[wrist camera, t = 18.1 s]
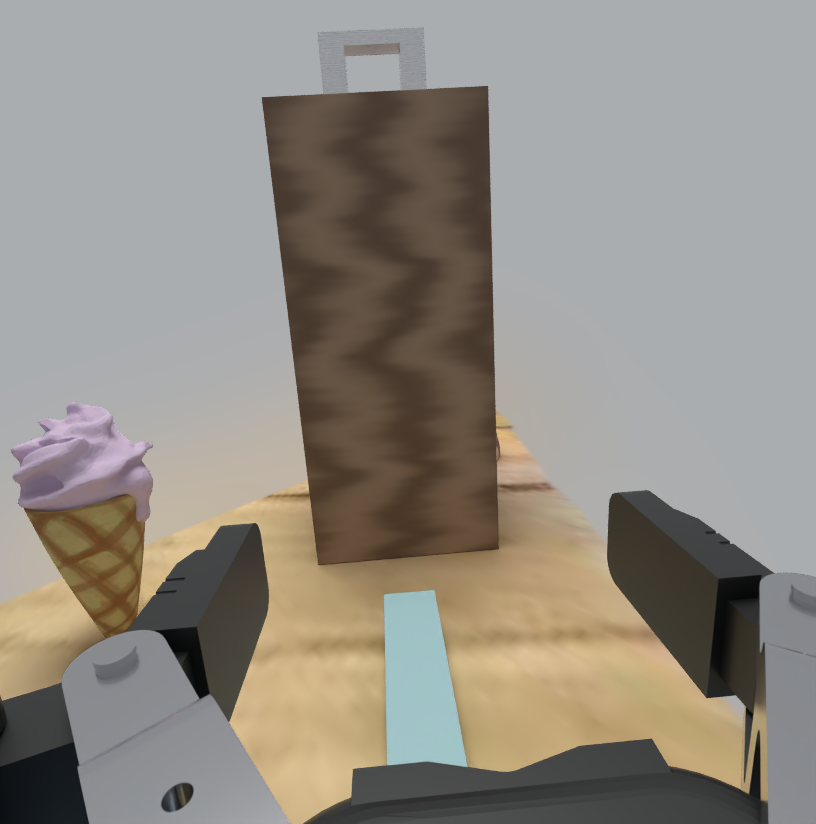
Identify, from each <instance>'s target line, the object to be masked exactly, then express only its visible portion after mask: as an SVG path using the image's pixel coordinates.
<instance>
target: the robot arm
mask: <svg viewBox="0 0 816 824" xmlns="http://www.w3.org/2000/svg"><path fill="white" fill-rule="evenodd" d="M607 560H608V567H609V571H610V574H611V576H612V579H613V581H614V582H615V584H616V585H617V587H618V588H619V589H620V590H621V592H622V593H623V594H624V595H625V597H626V598H627V599H628V600H629V602H630V603H631V604H632V605H633V607H634V608H635V609H636V610H637V612H638V613H639V614H640V615H641V617H642V618H643V619H644V620H645V622H646V623H647V624H648V625H649V627H650V628H651V629H652V630H653V632H654V633H655V634H656V635H657V637H658V638H659V639H660V640H661V642H662V643H663V644H664V645H665V647H666V648H667V649H668V650H669V652H670V653H671V654H672V655H673V657H674V658H675V659H676V660H677V662H678V663H679V664H680V665H681V667H682V668H683V669H684V670H685V672H686V673H687V674H688V675H689V677H690V678H691V679H692V680H693V682H694V683H695V684H696V685H697V687H698V688H699V689H700V690H701V692H702V693H703V694H704V695H705V697H706V698H713V697H723V696H733V695H736V696H737V697H738V698H739V699H740V700H741V701H742V703H743V704H744V705H745V708H744V717H743V738H742V769H741V790H740V789H738V788H736V787H734V786H732V785H729V784H727V783H725V782H722V781H720V780H718V779H715V778H712V777H709V776H706V775H703V774H700V773H697V772H693V771H689V770H685V769H681V768H677V767H670V766H668V765H667V763H666V761H665V760H664V758H663V756H662V755H661V753H660V751H659V750H658V748H657V747H656V745H655V743H654V742H653V740H652V739H644V740H634V741H624V742H614V743H604V744H594V745H585V746H578V747H576V748H573V749H571V750H568V751H565V752H563V753H560V754H558V755H555V756H552V757H550V758H547V759H545V760H542V761H539V762H537V763H534V764H532V765H529V766H526V767H524V768H521V769H519V770H516V771H512V772H498V771H491V770H484V769H478V768H471V767H464V766H457V765H450V764H443V763H436V762H429V761H426V762H416V763H406V764H397V765H387V766H377V767H367V768H357V769H353V778H352V796H351V798H349V799H347V800H344V801H342V802H339V803H337V804H335V805H333V806H331V807H329V808H327V809H325V810H323V811H321V812H320V813H318V814H317V815H315V816H314V817H312V818H311V819H309V820H308V821H306V822H305V823H303V824H816V577H813V576H809V575H804V574H797V573H773V572H772V571H770V570H769V569H768V568H766V567H765V566H763V565H762V564H761V563H759V562H758V561H756V560H755V559H754V558H752V557H751V556H750V555H748V554H747V553H745V552H744V551H742V550H741V549H740V548H738V547H737V546H736V545H734V544H730V541H728V540H727V539H726V538H724V537H723V536H721V535H720V534H719V533H718V534H716V532H715V530H713V529H712V528H711V527H709V526H708V525H706V524H705V523H704V522H702V521H701V520H699V519H698V518H695V517H693V516H690V515H688V514H685V513H683V512H680V511H678V510H676V509H673V508H672V507H670V506H669V505H667V504H666V503H665V502H664V501H662V500H661V499H660V498H658V497H657V496H656V495H654V494H653V493H651V492H650V491H647V490H645V491H632V492H621V493H614V494H612V496H611V498H610V502H609V520H608V546H607ZM268 603H269V589H268V581H267V574H266V568H265V561H264V554H263V547H262V541H261V534H260V530H259V527H258V525H257V524H256V523H252V524H239V525H227V526H221V527H220V528H219V529H218V531H217V532H216V534H215V535H214V537H213V538H212V539H211V541H210V542H209V544H208V545H207V547H206V548H205V550H196V551H194V552H193V553H192V554H190V555H189V556H187V557H186V558H184V559H183V560H182V561H180V562H179V563H177V564H176V566H175V567H174V568H173V570H172V571H171V572H170V574H169V575H168V576H167V578H166V581H165V582H163V583H162V584H161V586H160V587H159V589H158V590H157V591H156V595H153V597H152V598H151V599H150V601H149V602H148V603H147V605H146V606H145V607H144V609H143V610H142V611H141V613H140V614H139V615H138V617H137V618H136V619H135V621H134V622H133V623H132V625H131V626H130V628H129V629H128V630H127V632H125V633H121V634H118V635H115V636H112V637H110V638H107V639H105V640H103V641H101V642H99V643H97V644H95V645H94V646H92V647H90V648H89V649H87V650H86V651H84V652H83V653H82V654H80V655H79V656H78V657H77V658H76V659H75V660H74V661H73V662H72V663H71V664H70V665H69V666H68V668H67V669H66V671H65V673H64V674H63V678H62V683H59V684H56V685H53V686H50V687H47V688H44V689H41V690H37V691H34V692H31V693H27V694H24V695H21V696H17V697H14V698H11V699H7V700H4V701H2V700H1V697H0V824H290V822H289V820H288V819H287V817H286V815H285V814H284V812H283V811H282V809H281V807H280V806H279V804H278V802H277V801H276V799H275V797H274V796H273V794H272V792H271V791H270V789H269V788H268V786H267V784H266V783H265V781H264V779H263V778H262V776H261V774H260V773H259V771H258V770H257V768H256V766H255V765H254V763H253V761H252V760H251V758H250V756H249V755H248V753H247V752H246V750H245V748H244V747H243V745H242V743H241V742H240V740H239V738H238V737H237V735H236V734H235V732H234V730H233V729H232V727H231V725H230V724H229V721H230V719H231V716H232V713H233V710H234V707H235V704H236V701H237V699H238V696H239V693H240V690H241V687H242V684H243V681H244V679H245V676H246V673H247V670H248V667H249V664H250V661H251V659H252V656H253V653H254V650H255V647H256V644H257V641H258V639H259V636H260V633H261V630H262V627H263V624H264V621H265V619H266V615H267V611H268Z"/></svg>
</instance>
